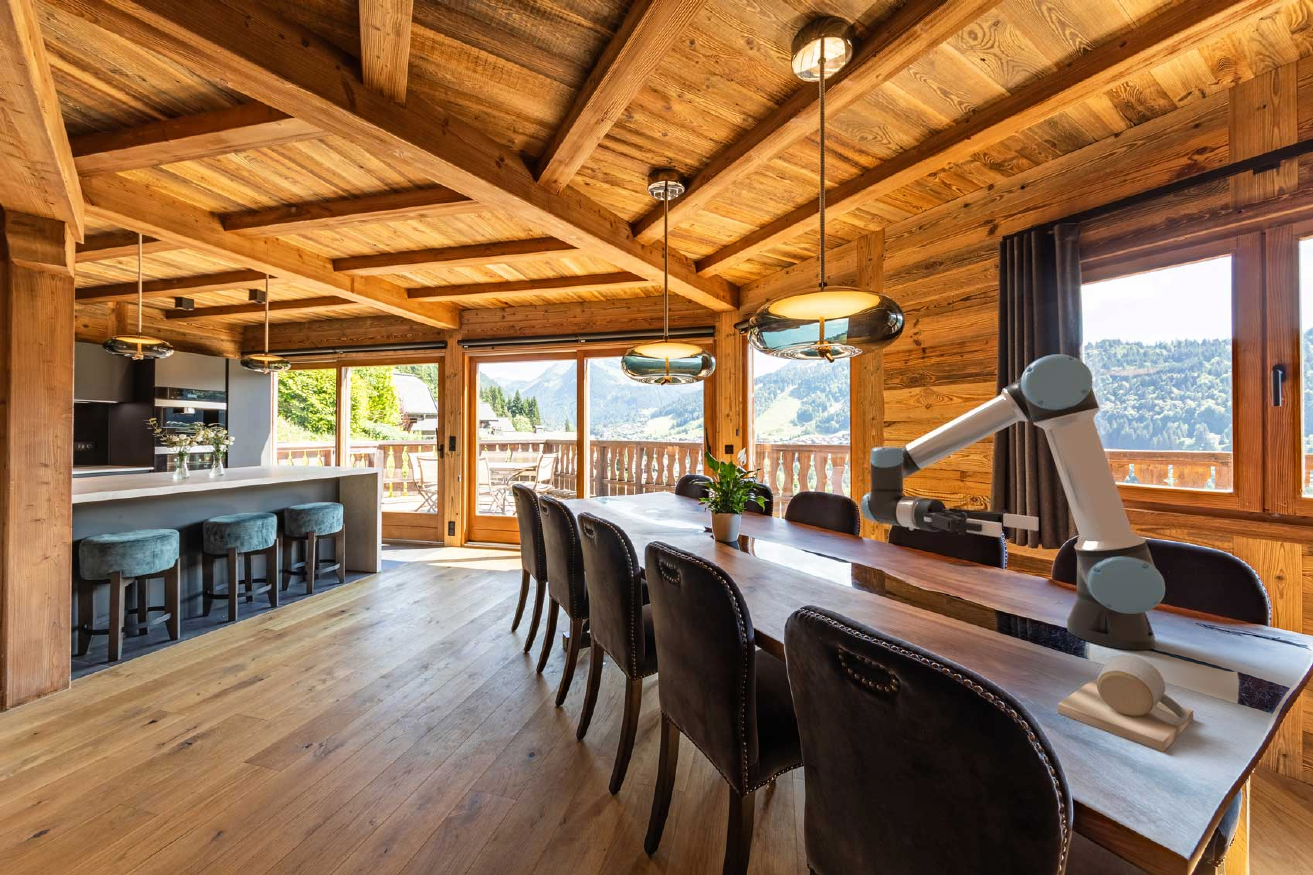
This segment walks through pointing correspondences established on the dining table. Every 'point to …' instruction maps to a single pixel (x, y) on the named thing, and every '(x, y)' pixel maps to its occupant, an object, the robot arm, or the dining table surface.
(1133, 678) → the ceramic mug
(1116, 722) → the birch board
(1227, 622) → the dining table surface
